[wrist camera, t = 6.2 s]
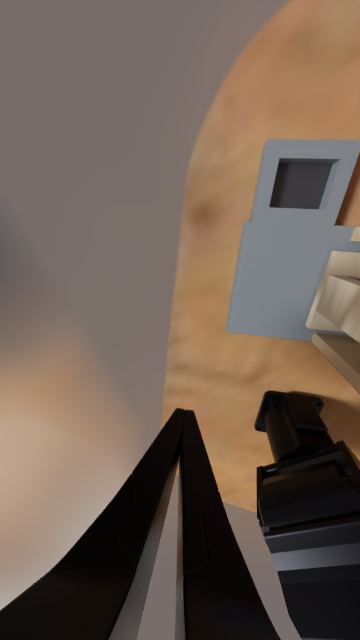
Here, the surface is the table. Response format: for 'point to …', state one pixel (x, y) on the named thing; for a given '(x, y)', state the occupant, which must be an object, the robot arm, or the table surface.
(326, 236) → the crate on grey tray
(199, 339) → the table surface
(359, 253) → the tan blocky structure
